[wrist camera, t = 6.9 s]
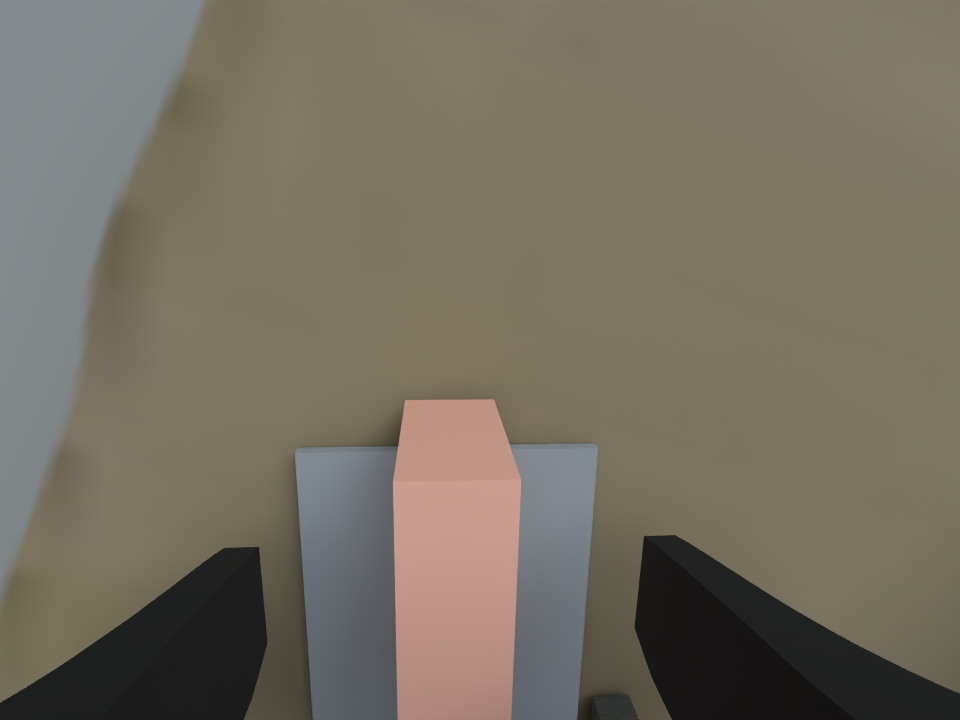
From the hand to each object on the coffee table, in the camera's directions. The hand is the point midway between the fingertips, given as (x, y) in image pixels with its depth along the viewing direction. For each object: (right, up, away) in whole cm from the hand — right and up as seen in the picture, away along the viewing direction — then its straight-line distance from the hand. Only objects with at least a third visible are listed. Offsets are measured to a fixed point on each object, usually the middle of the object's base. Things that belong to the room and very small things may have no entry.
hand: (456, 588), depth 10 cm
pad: (0, -2, +4) cm, 4 cm away
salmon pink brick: (0, 0, +3) cm, 3 cm away
